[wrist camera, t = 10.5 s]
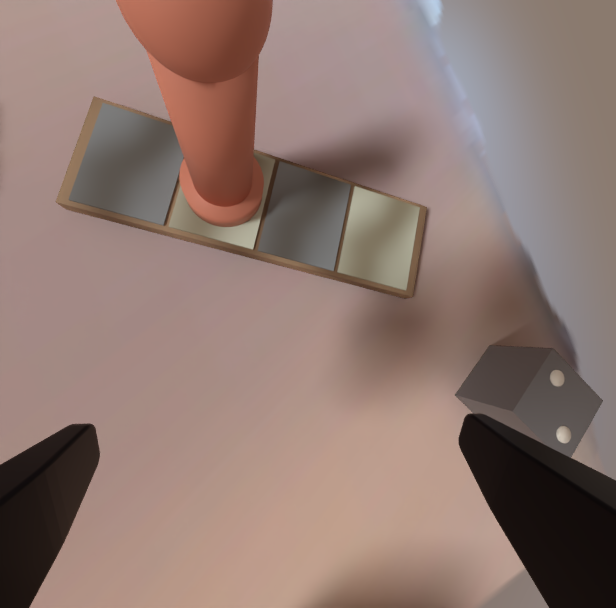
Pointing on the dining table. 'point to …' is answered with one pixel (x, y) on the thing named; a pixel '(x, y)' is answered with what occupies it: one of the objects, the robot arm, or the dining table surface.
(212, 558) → the dining table surface
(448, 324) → the dining table surface
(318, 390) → the dining table surface
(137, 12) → the pawn
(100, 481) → the dining table surface
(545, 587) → the robot arm
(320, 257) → the board
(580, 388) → the die
